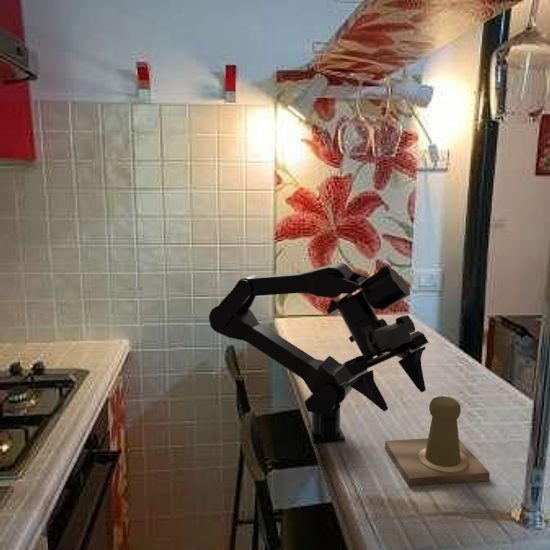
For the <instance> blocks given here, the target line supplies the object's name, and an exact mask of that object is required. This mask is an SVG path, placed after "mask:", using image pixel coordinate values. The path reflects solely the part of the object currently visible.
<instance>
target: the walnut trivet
mask: <svg viewBox="0 0 550 550" xmlns="http://www.w3.org/2000/svg"><path fill="white" fill-rule="evenodd" d="M427 442H428V437H426V438H425V437H424V438H413V439H412V438H411V439H410V438H409V439H408V438H407V439H395V440H393V439H392V440H385V441H384V449H385V451H386V452H387V454H388V456H389V457H390V459H391V461H392V462H393V464H394V465H395V467H396V469H397V470H398V472H399V473H400V475H401V477H402V478H403V480H404V482H405V483H406V484H407V486H408V487H411V488H412V487H423V486H435V485H437V486H438V485H449V484H464V483H477V482H489V481H490V474H491V473H490V471H489V470H488V469H487V468H486V467H485V466H484V464H482V462H481V461H480V460H479V459H478V458H477V457H476V456H475V455H474V454H473V452H471V451H470V450H469V448H467V446H466V445H465V444H464V443H463V442H462V441H461V440H460V439H459V447H460V457H461V461H460V463H459V464H458V465H456V466H453V467H442V466H437V465H434V464H432V463H430V462H429V461H427V459H426V458H425V452H426V447H427Z"/></svg>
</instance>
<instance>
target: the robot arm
mask: <svg viewBox="0 0 550 550" xmlns="http://www.w3.org/2000/svg"><path fill="white" fill-rule="evenodd" d="M403 277H404V276H402V275H400V273H398V271H396V270H395V269H393V267H392V266H391V265H390V263H389V264H388V263H387V264H386V265H384V266H383V267H381V268H380V269H379V270H378V271H376V272H375V273H373V275H371V276H366V275H363V274H360V273H358V272H355V271H353V270H352V269H351V268H350V266H348V265H347V264H346V263H345V262H336V263H332V264H329V265H328V264H327V265H324V266H321V267H317V268H315V269H312V270H308V271H300V272H288V273H277V274H266V275H265V274H264V275H263V274H262V275H254V274H253V275H252V274H251V275H248V276H245V277H243V278H239V280H237V282H236V284H235V286H234V287H233V288H232V290H231V291H230V292H229V293H228V294H227V295H226V296H225V297H224V298H223V300H221V302H220V303H219V305H217V306H214V308H212V309H211V310H210V312H209V315H208V321H209V324H210V325H209V326H210V328H211V330H213V331H214V332H215V333H217V334H220V335H222V336H224V337H226V338H228V339H233V340H238V341H243V342H246V343H247V344H249V345H250V346H252V347H253V348H255V349H257V350H258V351H259V352H261V353H262V354H264V355H265V356H267V357H268V358H270V359H272V361H274V362H275V363H277V364H279V365H281V366H282V367H284V368H285V369H287V370H289V371H290V372H291V373H292V374H294V375H295V376H297V377H299V378H300V379H302V381H303V382H304V384H305V385H306V386H307V388H308V390H309V391H310V393H311V394H310V395H309V396H308V397H307V399H305V401H304V405H305V407H306V411H307V412H309V413H311V415H310V416H311V424H309V425H307V427H306V428H307V431H308V433H309V436H310V439H311V442H313V443H323V442H325V443H326V442H337V441H338V442H339V441H346V436H345V434H344V433H343V431H342V428H341V403H343V401H344V400H345V399H346V397H347V396H348V395H349V394H350V393H351V391H352V390H353V389H354V390H355V391H357V392H358V393H360V394H361V395H363V396H364V397H365V398H367V399H368V400H369V401H371V402H372V403H373V404H374V405H375V406H377V407H378V408H379V409H380V410H382V411H383V412H386V411H387V410H389V407H388V404H387V403H386V400H385V398H384V396H383V395H382V394H383V393H382V392H381V391H380V389H379V387H378V386H377V383H376V382H375V378H374V370H373V369H371V370H369V369H370V368H372V367H375V366H377V365H378V364H381V363H384V362H385V361H388V360H390V359H392V358H395V357H398V358H400V360H398V364H399V365H400V367H401V368H402V369H403V370H404V372H405V373H406V375H407V376H408V378H409V379H410V381H411V382H412V383H413V385H414V386H415V388H417V390H418V391H419V392H420V393H423V392H426V390H427V389H426V383H425V379H424V373H423V368H422V356H423V352H424V351H426V346H425V345H427V344H429V340H428V339H427V336H426V335H425V334H424V333H423V332H421V331H419V330H417V331H416V327H415V324H414V322H413V320H412V318H411V317H410V316H409V315H408V314H407V315H406V314H405V315H402V316H399V317H396V319H395V323H393V324H388V323H387V321H386V320H385V319H384V318H381V319H379V318H378V316H377V314H376V313H375V311H374V310H376V311H377V310H380V311H382V312H384V311H386V310H387V309H390V308H391V307H392V306H394V305H397V304H398V303H399V302H401V301H402V300H404V299H406V298H407V297H409V296H410V295H411V291H410V288H409V286H408V284H407V282H406V280H405V279H404V278H403ZM360 289H361V290H360ZM358 290H359V291H358ZM357 291H358V292H357ZM356 292H357V293H356ZM354 293H355V294H354ZM289 294H308V295H311V296H314V297H321V298H331V299H330V300H329V306H328V308H327V310H326V312H327V314H328V315H330V314H332V315H333V314H340V316H341V318H342V319H343V321H344V323H345V325H346V327H347V329H348V331H349V333H350V336H349V337H348V339H349V341H350V342H351V343H354V342H355V344H356V345H357V347H358V349H359V351H360V353H361V355H359V356H356V357H354V358H352V359H349V360H347V361H345V362H344V363H341V362H339V361H338V360H336V359H335V358H334V357H332V356H331V355H328V356H327V357H326V358H325V359H323V360H321V359H317V358H315V357H313V356H312V355H310V354H309V353H307V352H305V351H304V350H302V349H301V348H299V347H297V346H296V345H294V344H293V343H291V342H290V341H288V340H287V339H285V338H284V337H282V336H281V335H279V334H277V333H275V332H274V331H273V330H271V329H269V328H268V327H266V326H265V325H263V324H262V323H260V321H258V319H257V318H256V316H255V314H254V313H253V311H252V310H251V309H250V308H251V307H252V306H253V304H254V301H255V299H256V297H260V296H261V297H262V296H273V295H275V296H276V295H289ZM343 294H345V295H344V296H343V297H341V298H340V299H334V298H337V297H339V296H341V295H343ZM351 343H350V344H351ZM368 370H369V371H368Z"/></svg>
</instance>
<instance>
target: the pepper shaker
mask: <svg viewBox="0 0 550 550" xmlns="http://www.w3.org/2000/svg"><path fill="white" fill-rule="evenodd" d="M428 409H429V414H430V416H431V421H430V426H429V432H428V437H427V438H428V442H427V447H426V452H425V458H426V459H427V461H429V462H430V463H432V464H434V465H437V466H442V467H453V466H456V465H458V464H459V463H460V461H461V457H460V447H459V440H460V438H459V429H458V428H459V427H458V419H459V418H460V416H461V411H462V408H461V405H460V402H459V401H458V400H456V398H453V397H451V396H444V395H440V396H439V395H438V396H436V397H434V398H432V399H431V401H430V402H429V406H428Z"/></svg>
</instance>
